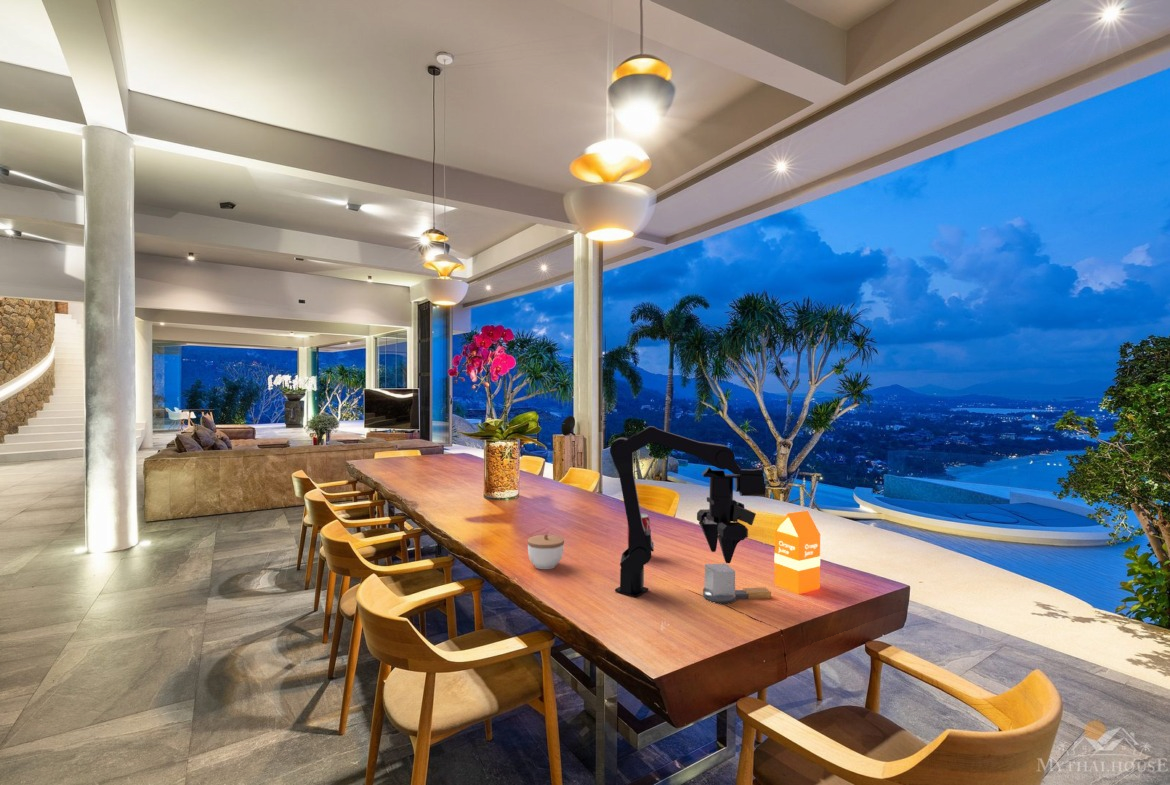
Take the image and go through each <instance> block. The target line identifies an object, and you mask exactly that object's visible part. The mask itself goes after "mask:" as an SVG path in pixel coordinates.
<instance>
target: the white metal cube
mask: <svg viewBox="0 0 1170 785" xmlns="http://www.w3.org/2000/svg"><path fill="white" fill-rule="evenodd" d="M704 588H705V589H706V590H707V591H708V592H709V593H710V594H711V595H712V596H735V590H736V570H734V569H733V568H732V567H730V566H729V565H728V563H705V564H704Z"/></svg>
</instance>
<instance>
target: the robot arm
mask: <svg viewBox="0 0 1170 785" xmlns="http://www.w3.org/2000/svg"><path fill="white" fill-rule="evenodd" d="M651 443H653V444H656V445H660V446H663V447H666V448H669V449H672V450H676V451H678V452H682V453H685V454H688V455H691V456H694V457H696V458H698V459H700V460H702V461H704V462H706V463H707V464H709V465H711V466H713V467H714V468H715V467H716V469H712V468H711V467H710V466H707V468H706V469H705V470H704V471H703V472H701V475H702V476H703V478H709V496H707V497H706V502H707V503H709V504H708V505H709V506H708V507H709V509H704V508H703V509H699V510H698V511H697V512H696V520H697V521H698V525H699V526H700V528H701V530H702V533H703V535H704V538H705V539H706V541H707V545H708V546H709V550H710V551H711V552H713V553H714V552H716V551H717V546H718V541H719V545H720V549H721V553H722V556H723V559H724V560H723V561H724V563H725V564H730V563H732V559H733V556H734V553H735V550H736V548H737V546H738V544H739V543H740V542H741V541H744V540H745V539H747V538H749V529H748V527H746V526H745V525H744V524H743V523H746V524H747V525H748V526H749V525H750V526H753V523H754V521H755V519H756V515H757V513H756V512H753V511H752V510H749V509H747V508H745V504H744V503H742V502H739V501H736V500H735V499H734V491H735V492H738V494H739V496H740V497H760V498H762V497H763V498H764V497H765V496H766V490H767V489H766V485H767V484H766V483H765V476H764V470H763V469H761V468H754V469H748V468H746V469H745V468H744V469H743V468H741V466H739V465H738V463H737V462H736V461H735V460H736V456H735V453H734V451H733V450H732V449H731V448H730V447H728V446H727V445H725V444H720V443H714V442H713V443H712V442H703V441H698V440H694V439H691V438H687V437H685V436H682V435H679V434H676V433H672V432H669V431H665V430H663V429H659V428H657V427H656V426H652V425H650V426H647V427H646V428H645V429H643V430H641V431H638V432H637V433H635V434H632V435H631V436H628V437H622V436H621V437H618V438H616V439H615V440H614V441H613V442H612V443H611V444H610V448H609V453H610V456H611V459H612V462H613V464H614V467H615V469H616V471H617V475H618V476H619V482H620V487H621V488H620V489H621V492H622V498H623V503H624V509H625V516H626V520H627V528H628V527H629V548H628V549H626V550H625V551H623V552H622V554H621V557H620V564H619V566H620V574H619V576H620V577H619V586H618V587H616V588H615V589H614V592H617V593H620V594H624V595H627V596H628V597H629V596H630V597H633V598H638V597H639V596H641V595H643V594H645V593H647V592H648V591H649V587H645V586H644V585H645V584H644V577H645V568H644V566H645V565H647V564H649V562H650V561H651V559H652V552H655V550H654V549H655V548H654V547H655V544H654V541H653V540H652V529H651V528H650V529H649V530H645V527H644V525H643V522H642V517H641V513H642V511H641V507H640V501H639V495H638V490H637V485H636V480H635V474H634V453H635V452H636V451H639V450H641V449H642V448H644V447H646V446H647V445H649V444H651ZM717 469H719V470H717ZM725 470H727V471H729V472H730V473H729V474H728V473H725ZM731 473H732V474H731ZM739 521H741V522H743V523H741V522H739Z"/></svg>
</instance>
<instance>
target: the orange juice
mask: <svg viewBox="0 0 1170 785" xmlns="http://www.w3.org/2000/svg"><path fill="white" fill-rule="evenodd" d="M820 567H821V533H820V531H819V529H818V528H817V526H816V523H815V521H814V520H813V518H812V516H811V514H810V512H809V510H802V511H795V512H788V513H786V514H785V516H784V517H783V519H782V520H781V522H780V523H779V524H778V526H777V527H776V529H775V531H774V576H773V577H774V585H775V586H776V587H780V588H781V589H783V590H786V591H789V592H791V593H794V594H797V595H800V594H805V593H808V592H813V591H816V590H819V589H820V586H821V585H820V584H821V583H820V582H821V581H820V580H821V576H820V575H821V574H820V573H821V568H820Z"/></svg>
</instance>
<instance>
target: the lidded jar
mask: <svg viewBox="0 0 1170 785" xmlns="http://www.w3.org/2000/svg"><path fill="white" fill-rule="evenodd" d="M564 544H565V540H564V538H563V537H561V536H558V535H555V534H548V533H544V534H537V535H533V536H531V537H529V538H527V554H528V558H529V561H530V562H531V563H532V564H533V565H534V568H536V569H539V570H552V569H555V568H556V566H557V565H558V564H559V563H560V562H561V559H562V557H563V554H564Z"/></svg>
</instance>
